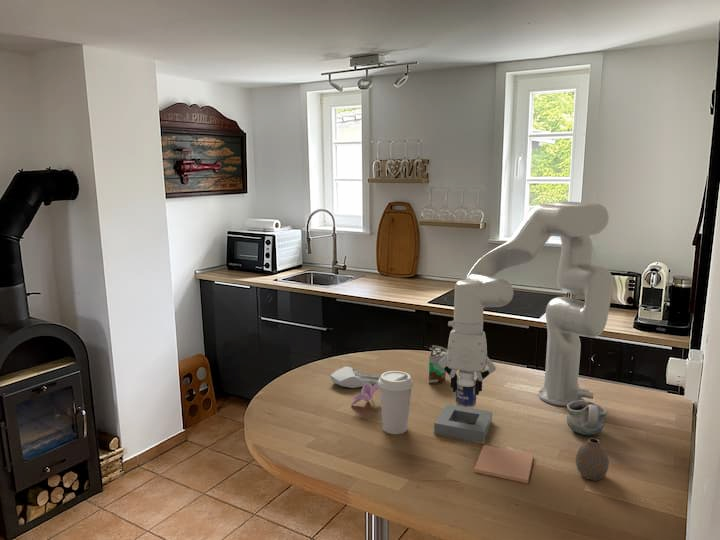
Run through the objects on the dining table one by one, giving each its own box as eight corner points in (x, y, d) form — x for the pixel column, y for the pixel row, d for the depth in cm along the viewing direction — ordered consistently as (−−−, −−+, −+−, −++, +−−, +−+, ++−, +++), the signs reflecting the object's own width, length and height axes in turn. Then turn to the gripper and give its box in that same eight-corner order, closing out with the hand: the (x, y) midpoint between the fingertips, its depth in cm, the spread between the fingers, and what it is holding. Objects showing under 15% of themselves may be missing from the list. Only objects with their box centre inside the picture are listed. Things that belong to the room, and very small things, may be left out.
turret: (391, 394, 176) (393, 380, 175) (331, 389, 172) (333, 375, 171) (384, 382, 186) (386, 369, 185) (327, 377, 182) (329, 364, 181)
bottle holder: (491, 421, 152) (492, 411, 151) (483, 443, 140) (483, 432, 139) (446, 413, 157) (446, 403, 156) (434, 433, 145) (434, 423, 144)
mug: (595, 423, 151) (598, 389, 149) (616, 446, 138) (619, 409, 137) (560, 423, 151) (562, 389, 149) (578, 446, 138) (581, 409, 137)
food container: (447, 387, 175) (448, 358, 174) (428, 386, 177) (429, 356, 175) (449, 373, 187) (450, 346, 186) (431, 372, 189) (432, 344, 187)
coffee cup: (388, 440, 141) (389, 385, 138) (370, 425, 149) (371, 373, 147) (419, 432, 145) (420, 379, 143) (400, 418, 154) (401, 367, 151)
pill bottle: (452, 407, 146) (453, 372, 144) (459, 399, 151) (459, 366, 149) (472, 411, 144) (473, 376, 142) (478, 403, 148) (479, 369, 146)
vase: (569, 468, 128) (572, 433, 127) (597, 467, 129) (600, 432, 127) (583, 485, 121) (586, 448, 120) (613, 483, 122) (616, 447, 120)
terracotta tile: (533, 457, 133) (533, 454, 133) (527, 483, 122) (528, 480, 122) (483, 448, 137) (483, 445, 137) (474, 471, 126) (474, 468, 126)
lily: (388, 403, 166) (376, 376, 167) (395, 404, 155) (383, 375, 156) (355, 418, 163) (343, 390, 164) (360, 420, 153) (348, 390, 154)
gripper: (433, 328, 142) (431, 393, 146) (500, 334, 137) (497, 401, 140) (438, 320, 149) (437, 382, 153) (502, 325, 144) (500, 390, 147)
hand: (466, 391), depth 146 cm, fingers closed on pill bottle, 5 cm apart
